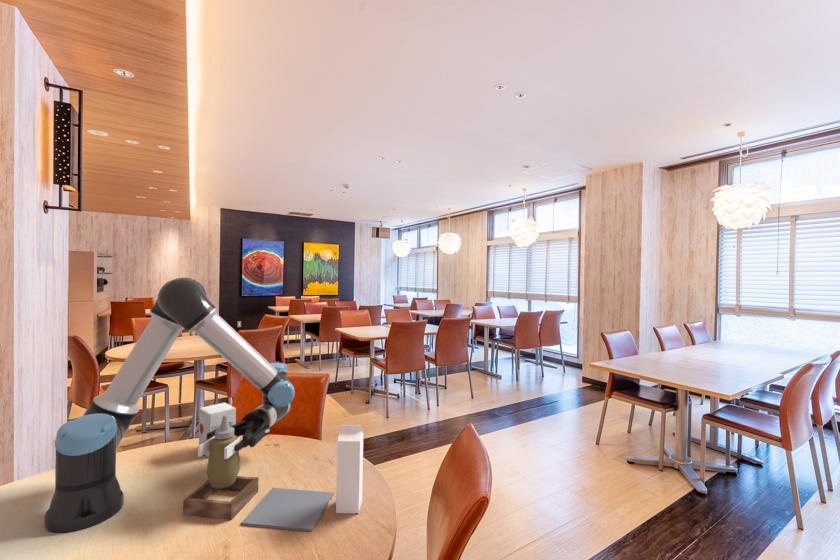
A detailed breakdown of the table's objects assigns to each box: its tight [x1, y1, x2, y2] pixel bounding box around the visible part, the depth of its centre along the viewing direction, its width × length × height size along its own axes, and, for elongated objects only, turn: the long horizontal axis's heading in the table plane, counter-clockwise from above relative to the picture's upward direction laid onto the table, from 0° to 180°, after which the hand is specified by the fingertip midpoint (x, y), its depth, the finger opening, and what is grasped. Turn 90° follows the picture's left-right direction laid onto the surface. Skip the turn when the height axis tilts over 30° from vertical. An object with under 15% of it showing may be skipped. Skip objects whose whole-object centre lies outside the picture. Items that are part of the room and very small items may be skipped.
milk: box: [335, 423, 364, 515], centre depth 103 cm, size 6×6×22 cm
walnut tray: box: [182, 475, 259, 521], centre depth 104 cm, size 13×13×4 cm
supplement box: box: [198, 401, 237, 459], centre depth 135 cm, size 9×9×15 cm
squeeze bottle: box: [206, 416, 241, 488], centre depth 104 cm, size 8×8×18 cm
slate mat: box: [240, 487, 335, 532], centre depth 102 cm, size 18×16×1 cm
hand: (212, 452), depth 99 cm, fingers closed on squeeze bottle, 6 cm apart
